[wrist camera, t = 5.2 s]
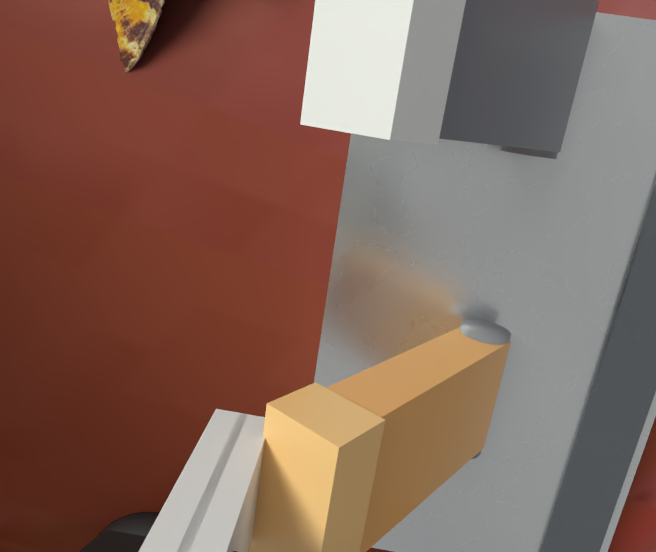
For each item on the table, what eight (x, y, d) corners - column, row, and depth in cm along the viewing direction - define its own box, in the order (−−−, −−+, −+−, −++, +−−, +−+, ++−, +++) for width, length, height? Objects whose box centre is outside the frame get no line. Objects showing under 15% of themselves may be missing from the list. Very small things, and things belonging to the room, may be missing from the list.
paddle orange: (443, 424, 20) (246, 564, 13) (468, 314, 19) (267, 399, 12) (493, 450, 19) (309, 619, 12) (524, 334, 18) (340, 443, 11)
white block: (506, 150, 17) (299, 129, 10) (541, -1, 16) (334, -150, 9) (570, 160, 16) (388, 146, 9) (613, -2, 15) (443, -173, 8)
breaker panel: (300, 492, 24) (290, 536, 22) (374, -2, 19) (373, -21, 16) (572, 541, 24) (596, 593, 21) (735, 49, 18) (794, 37, 16)
